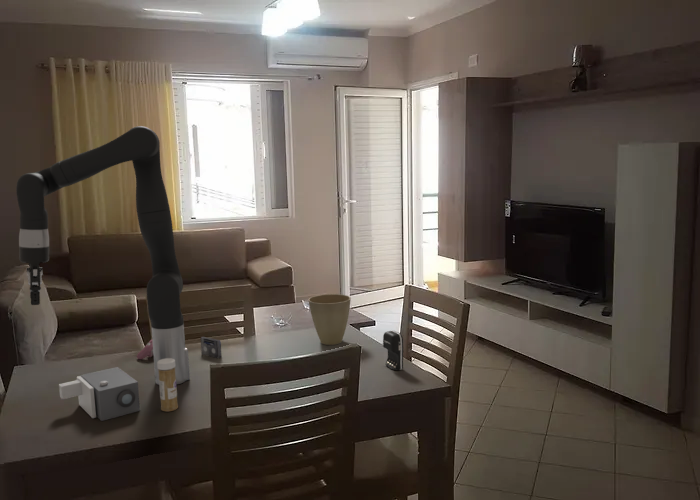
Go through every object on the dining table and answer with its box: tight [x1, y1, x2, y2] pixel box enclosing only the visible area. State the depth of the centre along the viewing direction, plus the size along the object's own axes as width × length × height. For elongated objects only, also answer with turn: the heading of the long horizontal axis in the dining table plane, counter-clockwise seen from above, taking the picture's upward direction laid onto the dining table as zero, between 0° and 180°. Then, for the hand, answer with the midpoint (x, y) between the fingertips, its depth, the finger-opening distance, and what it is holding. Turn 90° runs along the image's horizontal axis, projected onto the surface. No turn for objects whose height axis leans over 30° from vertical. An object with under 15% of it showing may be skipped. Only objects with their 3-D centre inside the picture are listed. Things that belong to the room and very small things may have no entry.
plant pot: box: [308, 293, 352, 346], centre depth 224 cm, size 15×15×16 cm
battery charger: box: [382, 330, 404, 371], centre depth 196 cm, size 7×4×11 cm, turn 27°
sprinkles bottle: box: [157, 358, 179, 412], centre depth 168 cm, size 5×5×13 cm
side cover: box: [58, 375, 97, 419], centre depth 166 cm, size 6×12×8 cm, turn 38°
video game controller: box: [136, 339, 154, 360], centre depth 215 cm, size 10×5×7 cm, turn 169°
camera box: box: [80, 366, 141, 422], centre depth 170 cm, size 10×17×9 cm, turn 38°
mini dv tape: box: [200, 336, 223, 359], centre depth 213 cm, size 8×2×6 cm, turn 54°
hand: (34, 301), depth 179 cm, fingers open, 8 cm apart
